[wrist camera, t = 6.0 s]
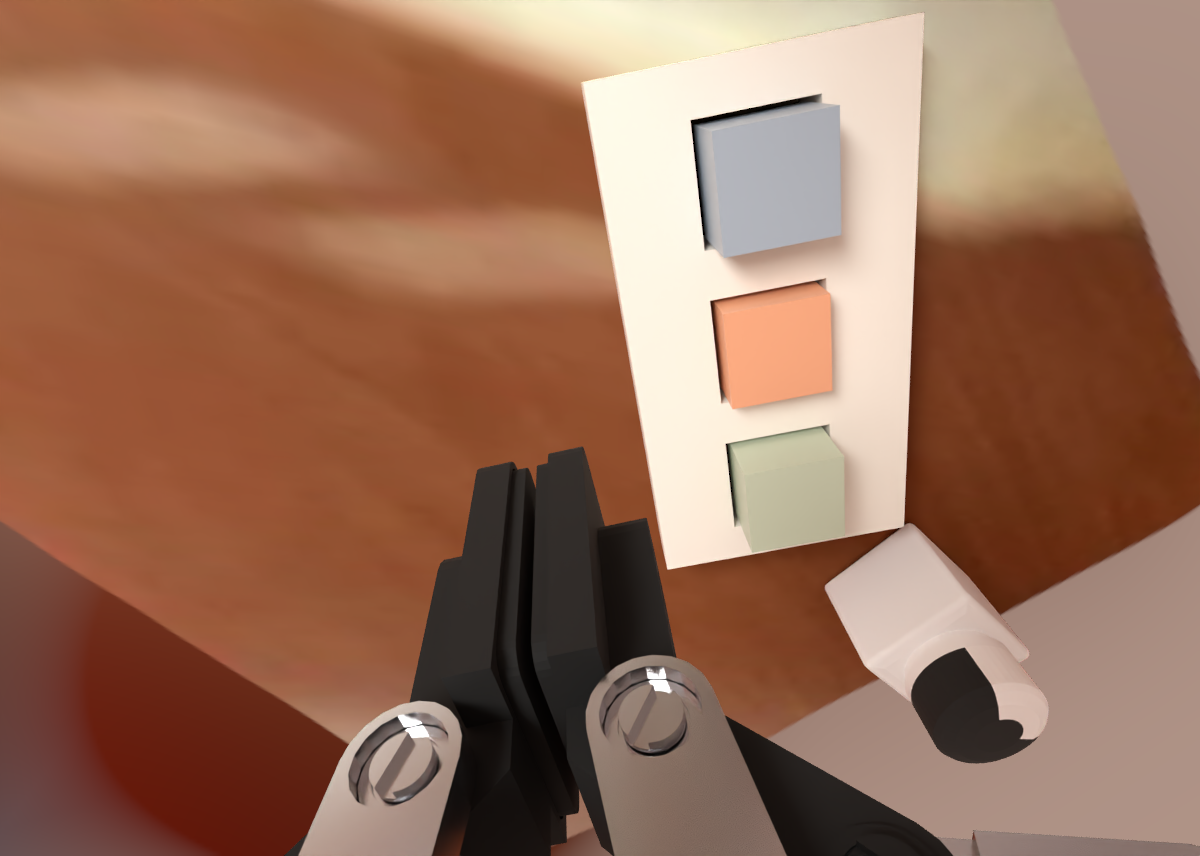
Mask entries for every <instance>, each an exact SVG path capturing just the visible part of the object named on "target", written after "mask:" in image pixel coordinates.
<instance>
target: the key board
mask: <svg viewBox="0 0 1200 856" xmlns="http://www.w3.org/2000/svg"><path fill="white" fill-rule="evenodd" d="M923 33H924V12H921V13H916V14H910V15H905V16H899V17H893V18H888V19H883V20H879V21H874V22H869V23H864V24H859V25H855V26H850V27H845V28H840V29H835V30H830V31H826V32H821V33H816V34H811V35H806V36H802V37H797V38H792V39H787V40H782V41H778V42H773V43H768V44H763V45H758V46H754V47H749V48H744V49H739V50H734V51H729V52H725V53H720V54H715V55H710V56H705V57H701V58H696V59H691V60H686V61H681V62H677V63H672V64H667V65H662V66H657V67H653V68H648V69H643V70H638V71H633V72H629V73H624V74H619V75H614V76H609V77H604V78H600V79H595V80H590V81H585V82H581V86H582V92H583V98H584V104H585V109H586V115H587V121H588V126H589V132H590V138H591V143H592V149H593V155H594V161H595V166H596V172H597V178H598V183H599V189H600V195H601V201H602V206H603V212H604V218H605V223H606V229H607V235H608V241H609V246H610V252H611V258H612V263H613V269H614V275H615V280H616V286H617V292H618V298H619V303H620V309H621V315H622V320H623V326H624V332H625V338H626V343H627V349H628V355H629V360H630V366H631V372H632V378H633V383H634V389H635V395H636V400H637V406H638V412H639V417H640V423H641V429H642V435H643V440H644V446H645V452H646V457H647V463H648V469H649V475H650V480H651V486H652V492H653V497H654V503H655V509H656V515H657V520H658V526H659V532H660V537H661V542H662V547H663V551H664V556H665V560H666V565H667V569H674V568H679V567H685V566H690V565H696V564H701V563H707V562H712V561H718V560H723V559H729V558H735V557H740V556H746V555H751V554H757V553H762V552H768V551H773V550H779V549H784V548H790V547H795V546H801V545H807V544H812V543H818V542H823V541H829V540H834V539H840V538H845V537H851V536H856V535H862V534H867V533H873V532H879V531H884V530H890V529H895V528H901V527H904V513H905V487H906V462H907V437H908V412H909V387H910V361H911V336H912V311H913V286H914V260H915V235H916V210H917V185H918V160H919V134H920V109H921V84H922V59H923ZM797 98H799V99H800V103H802V102H814V103H824V104H834V105H840V158H841V235H839V236H834V237H828V238H823V239H818V240H813V241H808V242H803V243H798V244H793V245H788V246H783V247H778V248H773V249H767V250H762V251H757V252H752V253H747V254H742V255H737V256H732V257H727V258H723V257H722V256H721V255H720V253H719V252H718V251H717V250H716V249H715V248H714V247H713V246H712V245H711V244H710V243H709V241H708V240H707V239H706V238H705V235H703V231H702V222H701V213H700V204H699V195H698V185H697V176H696V167H695V158H694V149H693V139H692V130H691V121H690V120H694V119H699V118H704V117H709V116H714V115H719V114H723V113H728V112H733V111H738V110H743V109H748V108H753V107H758V106H763V105H767V104H772V103H777V102H782V101H787V100H792V99H797ZM809 281H815V282H816V283H818V284H819V285H820V286H821V287H823V288H824V289H825V290H826V291H828V292H829V293H830V297H831V346H832V391H827V392H822V393H817V394H811V395H806V396H801V397H796V398H790V399H785V400H780V401H774V402H769V403H764V404H758V405H753V406H748V407H743V408H737V409H732V407H731V406H730V404H729V402H728V400H727V398H726V396H725V394H724V392H723V390H722V388H721V386H720V385H719V379H718V369H717V360H716V351H715V342H714V333H713V323H712V314H711V305H710V301H712V300H717V299H722V298H727V297H732V296H737V295H743V294H748V293H753V292H758V291H763V290H768V289H773V288H779V287H784V286H789V285H794V284H799V283H804V282H809ZM818 426H821V427H822V428H823V429H824V431H825V432H826V433H827V434H828V436H829V437H830V438H831V440H832V441H833V442H834V444H835V445H836V446H837V448H838V449H839V450H840V452H841V453H842V454H843V456H844V491H845V536H843V537H837V538H831V539H826V540H820V541H815V542H809V543H804V544H798V545H793V546H787V547H782V548H776V549H771V550H765V551H759V552H754V553H752V552H751V549H750V547H749V544H748V542H747V539H746V537H745V535H744V532H743V530H742V527H741V525H740V522H739V520H738V517H737V515H736V512H735V510H734V501H733V496H731V489H730V480H729V471H728V461H727V452H726V444H727V443H732V442H737V441H743V440H748V439H753V438H759V437H764V436H769V435H775V434H780V433H785V432H791V431H796V430H802V429H807V428H812V427H818Z"/></svg>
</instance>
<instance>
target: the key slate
mask: <svg viewBox="0 0 1200 856" xmlns="http://www.w3.org/2000/svg"><path fill="white" fill-rule="evenodd" d="M693 128H694V137H695V146H696V156H697V165H698V174H699V184H700V193H701V202H702V212H703V221H704V230H705V238H706V239H707V240H708V241H709V243H710V244H711V245H712V246H713V247H714V248H715V249H716V250H717V251H718V252H719V253H720V255H721V256H722V257H723V258H727V257H732V256H737V255H742V254H747V253H752V252H757V251H762V250H767V249H773V248H778V247H783V246H788V245H793V244H798V243H803V242H808V241H813V240H818V239H823V238H828V237H834V236H839V235H841V158H840V105H834V104H824V103H814V102H802V103H797V104H792V105H787V106H782V107H777V108H772V109H767V110H763V111H758V112H753V113H748V114H743V115H738V116H733V117H728V118H723V119H719V120H714V121H709V122H704V123H699V124H694V125H693Z"/></svg>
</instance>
